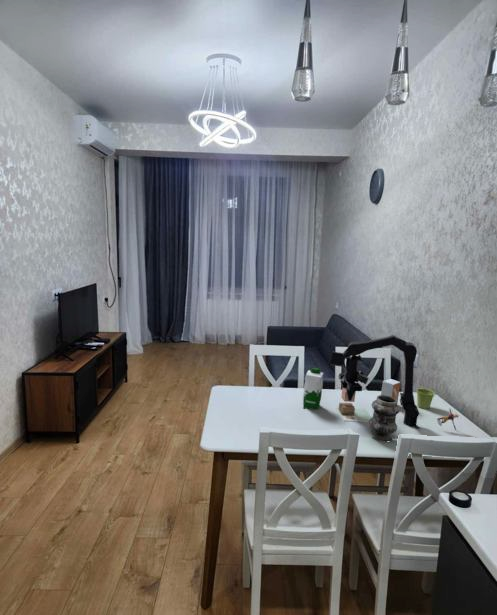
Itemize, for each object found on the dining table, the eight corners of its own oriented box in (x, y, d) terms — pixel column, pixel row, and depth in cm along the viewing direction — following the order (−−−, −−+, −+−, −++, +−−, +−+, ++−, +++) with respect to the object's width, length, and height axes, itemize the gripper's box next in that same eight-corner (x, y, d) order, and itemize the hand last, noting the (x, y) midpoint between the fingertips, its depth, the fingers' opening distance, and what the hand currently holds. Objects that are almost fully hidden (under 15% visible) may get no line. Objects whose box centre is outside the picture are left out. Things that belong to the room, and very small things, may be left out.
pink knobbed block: (354, 401, 204) (355, 390, 203) (344, 401, 203) (345, 390, 202) (351, 397, 209) (352, 387, 208) (341, 397, 208) (342, 386, 207)
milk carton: (321, 405, 216) (324, 368, 213) (318, 412, 207) (322, 373, 204) (304, 402, 218) (307, 365, 215) (301, 409, 210) (304, 370, 207)
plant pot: (429, 404, 229) (431, 389, 228) (435, 411, 220) (437, 395, 219) (412, 402, 230) (414, 387, 229) (417, 409, 221) (419, 393, 219)
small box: (390, 408, 219) (393, 384, 217) (379, 404, 224) (382, 381, 222) (397, 405, 225) (400, 381, 223) (386, 401, 229) (389, 378, 227)
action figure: (440, 433, 200) (458, 426, 200) (443, 436, 197) (462, 429, 198) (434, 411, 198) (452, 404, 198) (438, 413, 195) (456, 406, 195)
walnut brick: (354, 415, 205) (354, 407, 204) (342, 415, 204) (342, 407, 203) (350, 410, 210) (351, 403, 210) (338, 410, 210) (339, 402, 209)
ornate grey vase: (395, 446, 178) (400, 406, 175) (366, 439, 182) (371, 400, 179) (396, 434, 189) (401, 396, 186) (368, 428, 193) (373, 391, 190)
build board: (377, 424, 198) (377, 421, 198) (344, 422, 197) (344, 420, 197) (365, 410, 214) (365, 408, 214) (334, 409, 213) (335, 406, 213)
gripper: (374, 374, 195) (370, 406, 197) (361, 362, 213) (357, 392, 216) (351, 373, 194) (347, 405, 197) (339, 361, 212) (336, 391, 215)
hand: (348, 398), depth 206 cm, fingers closed on pink knobbed block, 5 cm apart
